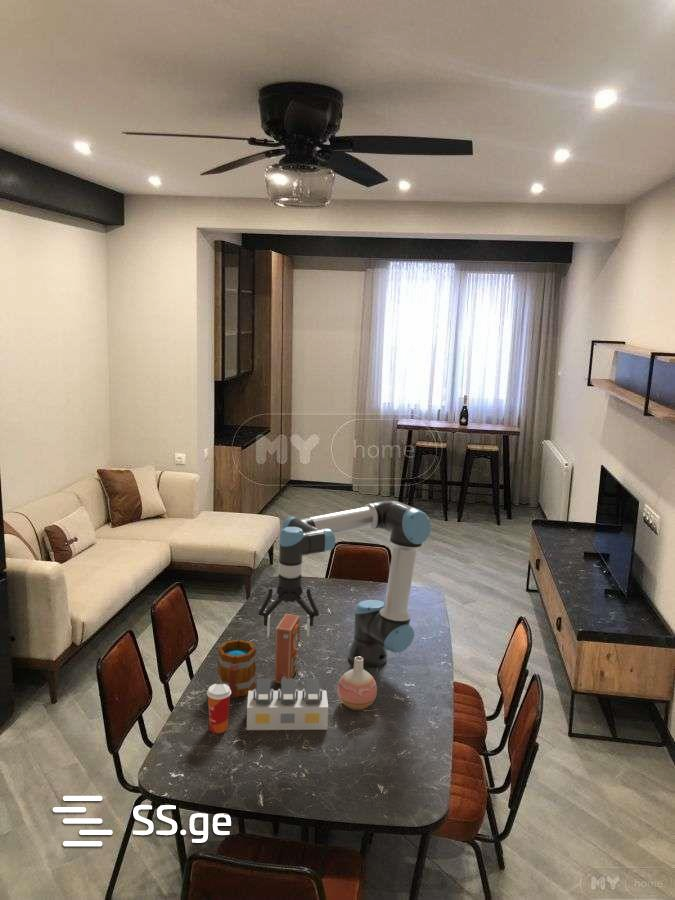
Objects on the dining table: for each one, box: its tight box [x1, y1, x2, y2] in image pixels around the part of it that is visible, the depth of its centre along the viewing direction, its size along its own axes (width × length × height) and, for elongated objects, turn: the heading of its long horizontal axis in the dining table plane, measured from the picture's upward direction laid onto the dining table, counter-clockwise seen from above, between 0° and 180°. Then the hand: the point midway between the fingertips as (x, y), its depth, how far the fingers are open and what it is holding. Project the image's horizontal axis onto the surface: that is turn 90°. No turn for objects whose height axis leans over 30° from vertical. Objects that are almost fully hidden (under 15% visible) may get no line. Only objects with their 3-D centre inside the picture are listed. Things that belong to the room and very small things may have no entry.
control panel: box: [273, 613, 301, 684], centre depth 259 cm, size 21×7×15 cm
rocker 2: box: [280, 678, 296, 704], centre depth 230 cm, size 5×9×2 cm, turn 5°
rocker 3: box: [304, 678, 321, 704], centre depth 231 cm, size 5×9×2 cm, turn 5°
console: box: [246, 688, 329, 731], centre depth 231 cm, size 26×10×11 cm, turn 95°
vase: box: [337, 656, 378, 711], centre depth 242 cm, size 14×14×18 cm
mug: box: [217, 638, 257, 698], centre depth 247 cm, size 20×14×15 cm
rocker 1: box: [255, 678, 271, 704], centre depth 229 cm, size 5×9×2 cm, turn 5°
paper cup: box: [206, 683, 231, 734], centre depth 225 cm, size 8×8×14 cm
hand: (288, 634), depth 235 cm, fingers open, 12 cm apart
